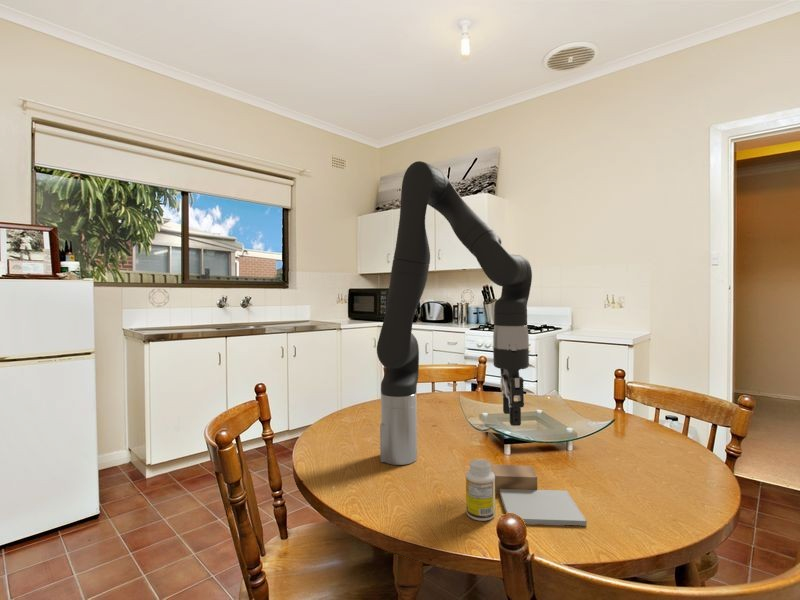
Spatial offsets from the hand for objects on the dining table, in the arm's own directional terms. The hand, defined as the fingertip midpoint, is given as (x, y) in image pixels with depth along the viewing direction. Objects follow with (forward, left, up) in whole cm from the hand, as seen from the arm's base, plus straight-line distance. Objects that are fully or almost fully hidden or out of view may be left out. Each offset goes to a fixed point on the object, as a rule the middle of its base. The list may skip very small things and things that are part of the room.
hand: (511, 419), depth 95 cm
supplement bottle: (-8, -12, -15) cm, 21 cm away
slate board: (+4, -9, -15) cm, 18 cm away
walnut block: (0, 0, -16) cm, 16 cm away
